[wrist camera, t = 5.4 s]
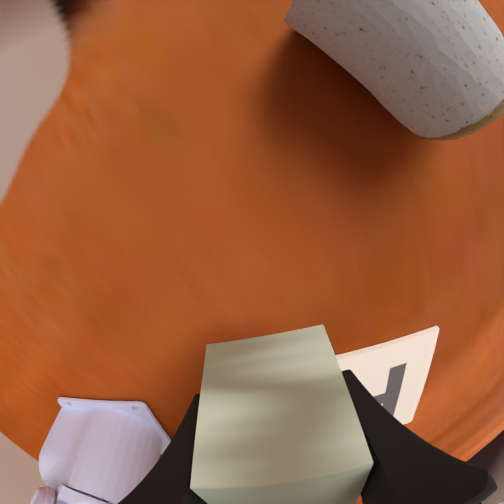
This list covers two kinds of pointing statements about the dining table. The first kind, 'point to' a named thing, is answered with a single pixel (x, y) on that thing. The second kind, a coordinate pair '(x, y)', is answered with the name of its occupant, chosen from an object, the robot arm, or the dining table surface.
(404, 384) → the letter card
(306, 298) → the dining table surface
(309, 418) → the green block
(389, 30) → the ceramic mug
